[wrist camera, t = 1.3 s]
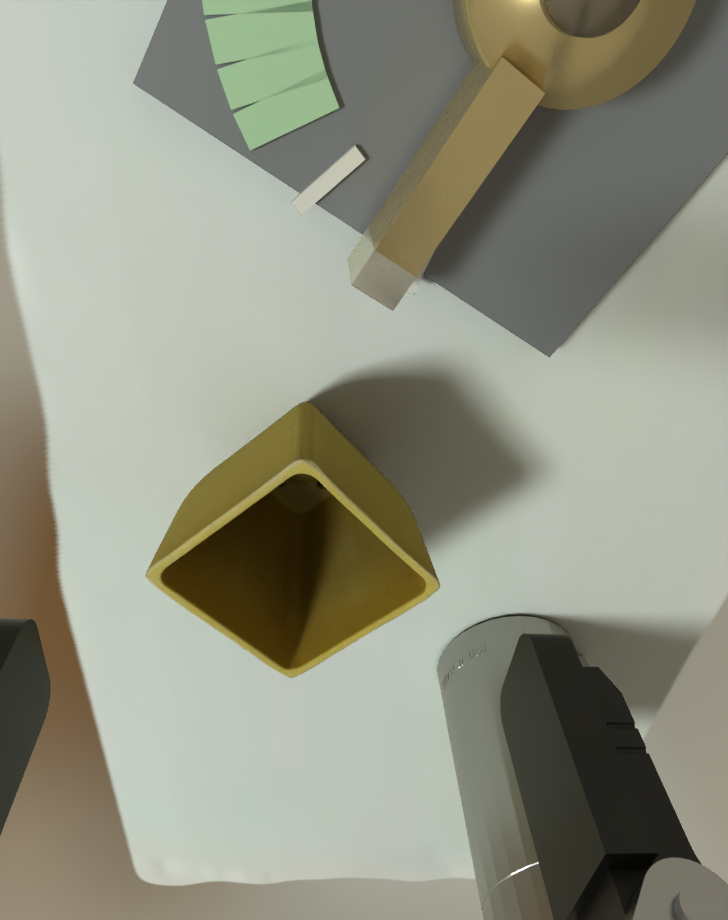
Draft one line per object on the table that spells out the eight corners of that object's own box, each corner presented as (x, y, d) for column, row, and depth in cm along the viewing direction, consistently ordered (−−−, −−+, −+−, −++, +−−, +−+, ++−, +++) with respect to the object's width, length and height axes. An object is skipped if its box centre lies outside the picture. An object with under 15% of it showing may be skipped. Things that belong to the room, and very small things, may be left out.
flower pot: (176, 452, 33) (138, 579, 26) (306, 348, 31) (304, 457, 23) (294, 549, 38) (290, 682, 30) (417, 465, 35) (446, 589, 27)
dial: (549, -224, 19) (598, -271, 16) (704, -56, 22) (773, -67, 19) (291, 220, 26) (289, 250, 23) (433, 310, 29) (449, 350, 25)
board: (857, -23, 24) (887, -25, 23) (528, 362, 32) (537, 376, 31) (377, -606, 16) (383, -656, 15) (103, 88, 24) (91, 92, 23)
